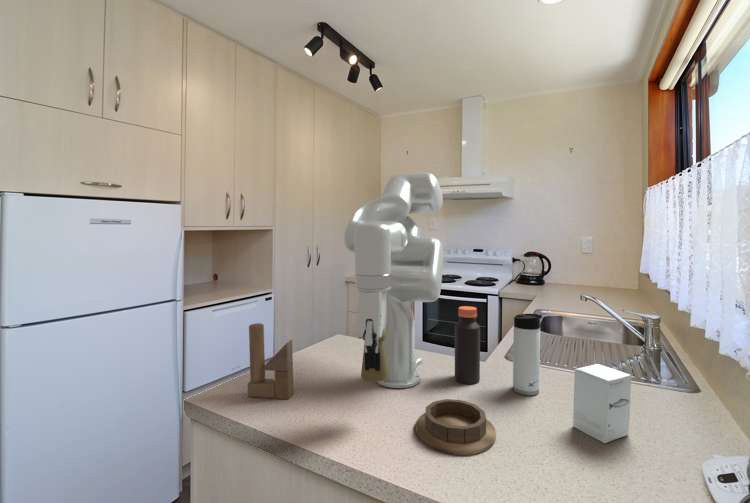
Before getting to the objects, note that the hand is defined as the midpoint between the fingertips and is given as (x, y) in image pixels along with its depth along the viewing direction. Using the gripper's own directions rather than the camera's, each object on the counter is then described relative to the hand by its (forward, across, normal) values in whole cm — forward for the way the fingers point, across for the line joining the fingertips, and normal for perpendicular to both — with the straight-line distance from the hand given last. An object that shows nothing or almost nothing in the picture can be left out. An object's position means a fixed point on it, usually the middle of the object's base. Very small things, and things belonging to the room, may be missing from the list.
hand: (374, 364), depth 80 cm
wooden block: (+13, -8, -28) cm, 32 cm away
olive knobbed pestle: (+3, 0, 0) cm, 3 cm away
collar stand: (+13, +2, +17) cm, 21 cm away
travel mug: (+14, -21, +36) cm, 43 cm away
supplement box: (+13, -3, +46) cm, 48 cm away
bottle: (+14, -26, +21) cm, 36 cm away
